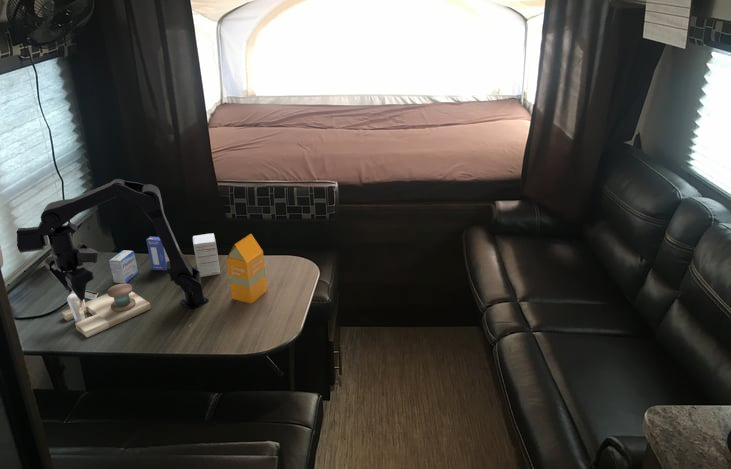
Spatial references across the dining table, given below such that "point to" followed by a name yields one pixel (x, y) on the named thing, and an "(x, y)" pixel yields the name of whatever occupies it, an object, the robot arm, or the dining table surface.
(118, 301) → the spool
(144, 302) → the board
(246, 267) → the orange juice
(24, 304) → the dining table surface
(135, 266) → the medicine box
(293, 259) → the dining table surface
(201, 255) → the supplement box
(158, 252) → the walkman
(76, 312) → the milkshake
